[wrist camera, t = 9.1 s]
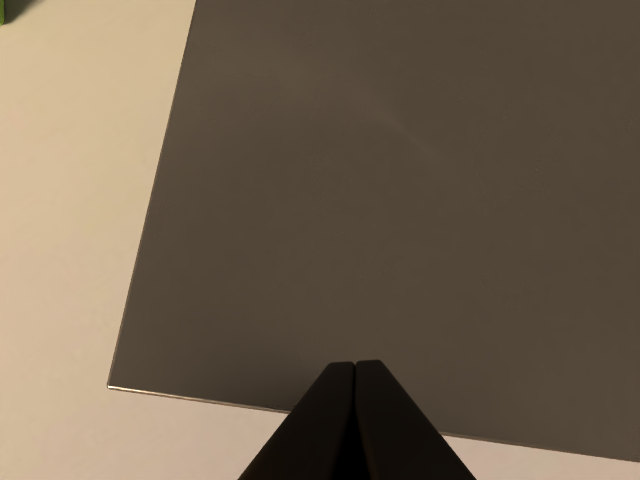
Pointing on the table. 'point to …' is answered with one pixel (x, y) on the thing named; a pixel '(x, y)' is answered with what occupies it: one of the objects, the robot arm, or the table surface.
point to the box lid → (402, 214)
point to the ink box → (1, 12)
